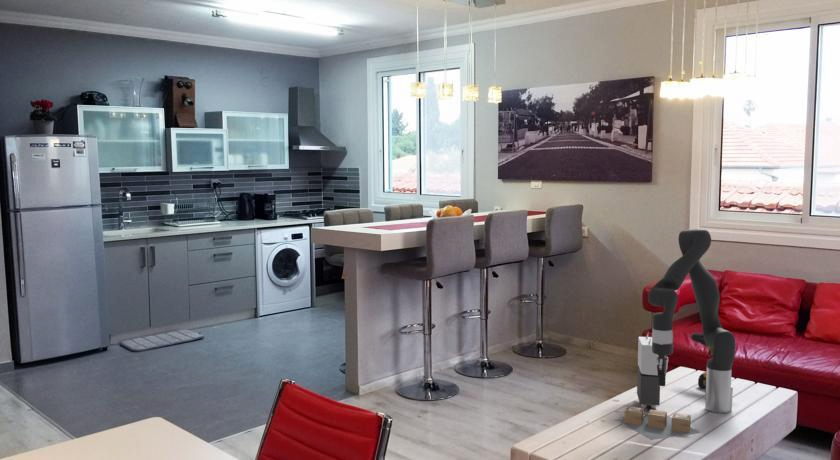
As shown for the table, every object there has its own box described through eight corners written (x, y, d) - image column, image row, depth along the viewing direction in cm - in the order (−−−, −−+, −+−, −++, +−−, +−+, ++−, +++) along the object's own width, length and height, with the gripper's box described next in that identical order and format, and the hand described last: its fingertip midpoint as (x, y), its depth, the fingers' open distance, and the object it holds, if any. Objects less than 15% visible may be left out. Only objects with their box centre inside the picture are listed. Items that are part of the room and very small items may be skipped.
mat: (662, 414, 289) (662, 413, 289) (701, 434, 268) (701, 432, 268) (615, 421, 281) (615, 419, 281) (650, 441, 261) (651, 439, 261)
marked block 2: (673, 425, 275) (673, 412, 274) (690, 428, 272) (690, 414, 272) (671, 430, 270) (671, 417, 269) (688, 433, 267) (689, 419, 266)
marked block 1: (627, 418, 282) (627, 405, 282) (643, 421, 280) (643, 407, 279) (624, 423, 277) (625, 410, 276) (640, 426, 274) (641, 412, 274)
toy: (659, 412, 291) (661, 338, 289) (640, 411, 293) (642, 337, 290) (655, 400, 306) (657, 330, 303) (636, 399, 307) (638, 329, 305)
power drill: (692, 379, 336) (694, 326, 334) (733, 391, 318) (735, 335, 316) (681, 382, 332) (683, 328, 330) (722, 394, 314) (724, 338, 312)
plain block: (650, 422, 279) (650, 409, 278) (666, 424, 276) (667, 411, 276) (647, 427, 273) (648, 414, 273) (664, 429, 271) (664, 416, 270)
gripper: (654, 336, 281) (654, 379, 283) (649, 344, 269) (649, 389, 271) (674, 337, 278) (674, 381, 280) (671, 345, 266) (670, 391, 268)
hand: (662, 385), depth 275 cm, fingers closed
